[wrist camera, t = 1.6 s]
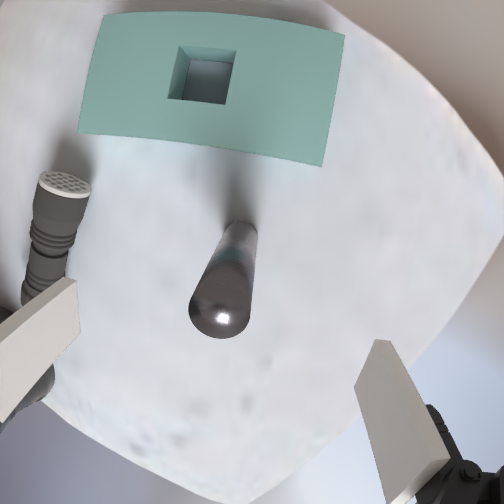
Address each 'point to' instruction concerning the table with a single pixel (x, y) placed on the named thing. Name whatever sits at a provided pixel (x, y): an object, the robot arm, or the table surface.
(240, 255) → the peg
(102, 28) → the hole block
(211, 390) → the table surface
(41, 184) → the flashlight
